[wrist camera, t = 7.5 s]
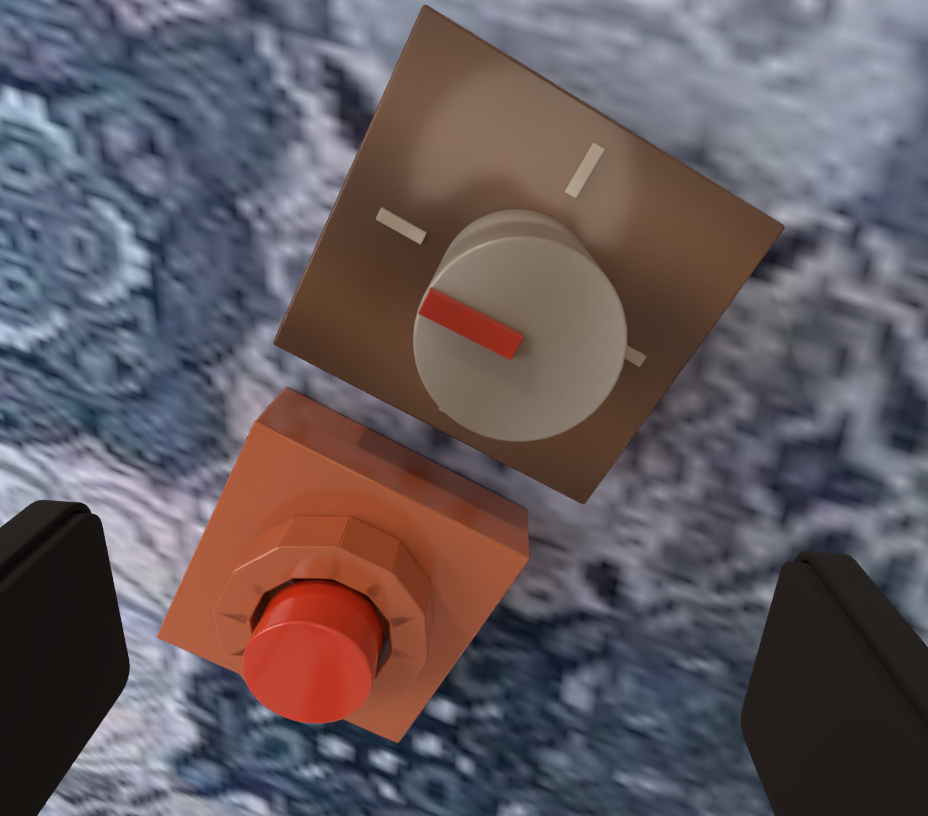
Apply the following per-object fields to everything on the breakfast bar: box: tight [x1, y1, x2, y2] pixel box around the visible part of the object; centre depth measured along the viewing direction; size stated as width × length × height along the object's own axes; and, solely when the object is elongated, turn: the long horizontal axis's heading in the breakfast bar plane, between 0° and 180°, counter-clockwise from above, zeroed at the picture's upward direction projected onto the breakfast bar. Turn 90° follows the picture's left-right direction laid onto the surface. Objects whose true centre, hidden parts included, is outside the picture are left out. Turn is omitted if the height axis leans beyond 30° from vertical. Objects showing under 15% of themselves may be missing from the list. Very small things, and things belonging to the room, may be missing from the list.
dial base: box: [273, 5, 785, 504], centre depth 20 cm, size 10×11×3 cm
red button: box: [242, 580, 384, 723], centre depth 21 cm, size 4×4×2 cm
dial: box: [413, 209, 627, 442], centre depth 16 cm, size 4×4×6 cm
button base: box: [157, 387, 530, 743], centre depth 23 cm, size 10×10×5 cm
